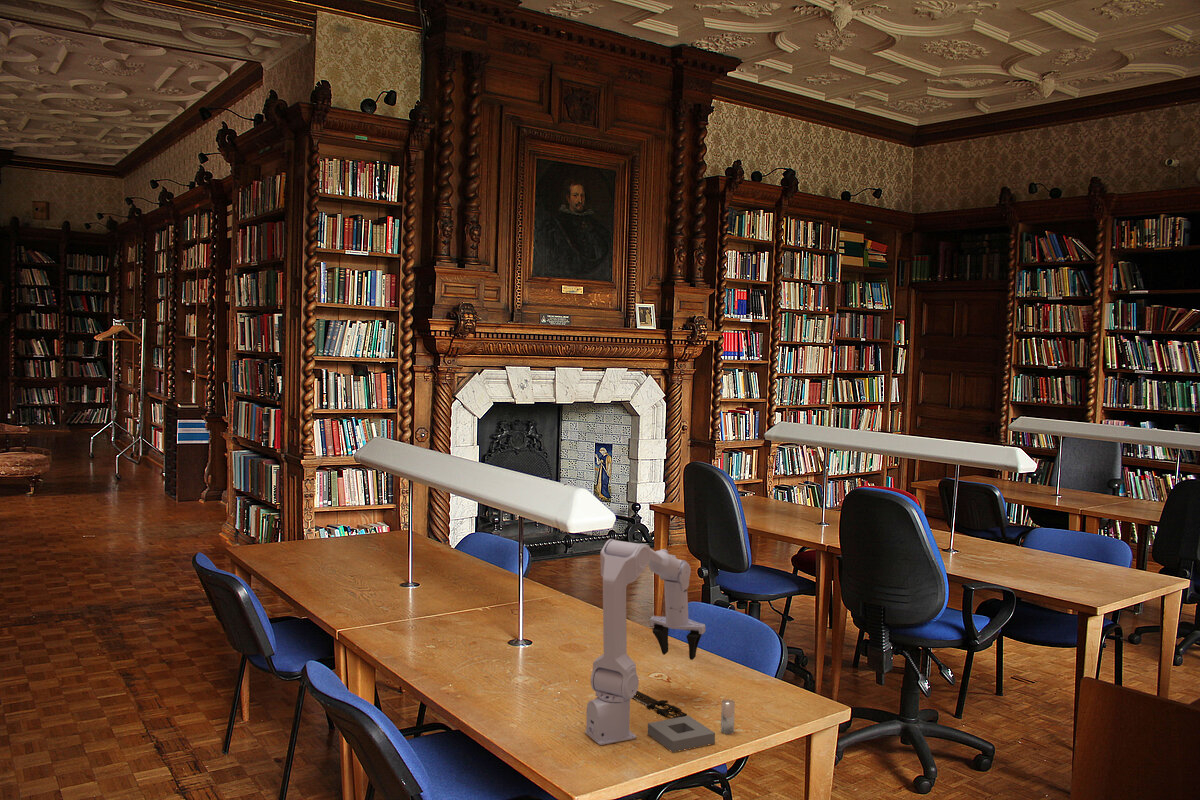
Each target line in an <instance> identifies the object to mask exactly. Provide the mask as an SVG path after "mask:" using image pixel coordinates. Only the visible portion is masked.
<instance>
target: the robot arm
mask: <svg viewBox="0 0 1200 800" xmlns="http://www.w3.org/2000/svg"><path fill="white" fill-rule="evenodd" d="M599 553H600V576H601V577H602V616H603V617H602V620H603V621H602V624H603V625H602V626H603V631H602V632H603V654H601V655H600V656H598V657H596V658H595V660H593V662H592V671H591V675H590V686H591V688H592V690H593V691H594V692H595V697H596V698H593V699H591V700H589V701H588V702H587V703H586V704H587V705H586V722H585V723H586V727H585V728H586V729H585V730H584V733H585V734H586V735H587V737H590V739H592V740H593V741H594V742H595V743H597V744H598V745H599V746H603V745H609V744H613V743H614V744H615V743H619V742H624V741H629V740H633V739H637V737H638V736H637V735H636V734H635V733H634V732H632V731H631V730H630V724H631V723H630V722H631V719H630V716H631V699H632V698H633V696H634V695H635V694H636V692H637V691H638V689H639V682H640V681H639V676H638V674H637V664H636V663H635V662H634V660H633V659H632V658H631V657H630V656H629V655H628V654H627V653H628V649H627V643H628V641H627V639H628V638H627V635H628V634H627V586H628V585H630V584H631V583H634V582H635V581H636V580H637V579H639V577H640V576H641V574H642V573H643V572H644V571H645V570H646V568H647V567H648V569H649V570H650V572H652V573H653V574H655V575H658V576H659V579H660V580H661V581H663V586H664V589H663V590H664V608H665V609H664V610H665V611H664V612H665V616H661V615H660V616H657V615H653V616H651V617H650V618H649V619H650V620H649V622H650V623H649V624H650V627H653V629H652V634H653V635H654V636H655V638H656V639H657V640H656V641H657V642H658V644H659V648H660V651H661V654H662V655H666V654H667V653H668V652H669V630H670V629H672V630H682V631H688V632H689V633H688V634H687V635H686V641H687V644H688V655H689V656H688V657H689V660H691V661H693V660H694V659H695V658H696V656H697V655H696V654H697V649H698V645H699V643H700V640H701V637H702V635H703V634H704V633H705V632H706V624H705V623H702V622H697V621H695V620H693V619H690V618H689V601H688V599H689V598H688V588H689V587H690V578H691V577H690V576H691V571H692V568H691V566H690V563H689V562H687V560H685V559H678V558H677V556H676V555H674V554H669V550H667V549H663V548H662V549H659V550H656V551H655V550H654V549H652V548H651V547H650V545H649V544H646V543H642V542H641V543H639V542H638V543H637V542H636V543H635V542H629V541H623V540H617V539H614V538H609V539H608V540H606V542H605V543H604V545H603V547H602V549H601V550H600V552H599Z"/></svg>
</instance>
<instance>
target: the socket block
mask: <svg viewBox="0 0 1200 800" xmlns="http://www.w3.org/2000/svg"><path fill="white" fill-rule="evenodd" d="M672 718H673V717H672ZM672 718H667V719H664V720H663V719H662V720H658V721H651V722H648V723H647V735H648V736H650V737H651V738H652V739H654V740H655V741H656V742H658V743H659V744H660V745H662V746H663V747H664V746H665V747H664V748H665V749H667V748H668V749H669V751H670V750H671V751H672V752H673V753H676V752H675V751H678V752H680V751H679V750H683V751H685V750H684V749H688V750H690V749H689V748H693V749H695V748H694V747H698V748H700V747H699V746H702V747H704V746H703V745H707V746H709V745H708V744H712V745H714V744H713V743H715V744H716V732H715V731H713V730H711V729H710V728H709V727H707V726H705V725H704V724H702V723H701V722H699V721H697V720H696V719H695V718H693V717H692V716H690V715H687V716H684V717H678V718H673V719H672ZM668 749H667V750H668ZM671 751H670V752H671ZM672 752H671V753H672Z"/></svg>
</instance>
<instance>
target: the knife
mask: <svg viewBox="0 0 1200 800" xmlns="http://www.w3.org/2000/svg"><path fill="white" fill-rule="evenodd" d="M637 695H638V696H637ZM639 696H640V697H639ZM641 697H642V698H641ZM633 698H634V699H636V700H638V701H640V702H642V703H643V704H642V703H641V704H642V705H644V704H645V705H644V706H646V709H649V708H650V709H649V710H653V709H654V710H656V714H658V715H659V714H660V715H659V716H662V717H663V716H664V718H666V716H670V717H671V719H673V718H678V717H684V716H688V714H687V713H686V712H683V711H682V709H681V708H679V707H677V706H675V705H672V704H669V700H666V699H665V700H664V699H661V700H657V699H655V698H653V697H651V696H649V695H648V694H645V693H643V692H641V691H639V690H637V692H636V695H634V696H633ZM643 698H644V699H643ZM634 699H633V700H634ZM636 700H635V701H636ZM638 701H637V702H638ZM640 702H639V703H640ZM656 705H657V706H656ZM660 706H661V707H662V708H660ZM664 707H666V708H664ZM672 709H673V710H672ZM676 711H677V712H676ZM669 712H671V713H669ZM673 712H676V713H673ZM678 712H679V713H678ZM672 713H673V714H672Z"/></svg>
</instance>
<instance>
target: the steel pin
mask: <svg viewBox="0 0 1200 800" xmlns="http://www.w3.org/2000/svg"><path fill="white" fill-rule="evenodd" d="M735 705H736V704H735V701H734V700H732V699H722V700H721V708H720V709H721V711H720V712H721V715H720V721H721V722H720V733H722V732H723V733H725V734H724V735H733V734H735V733H734V732H735V708H736V707H735ZM723 733H722V734H723ZM732 733H733V734H732Z"/></svg>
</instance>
